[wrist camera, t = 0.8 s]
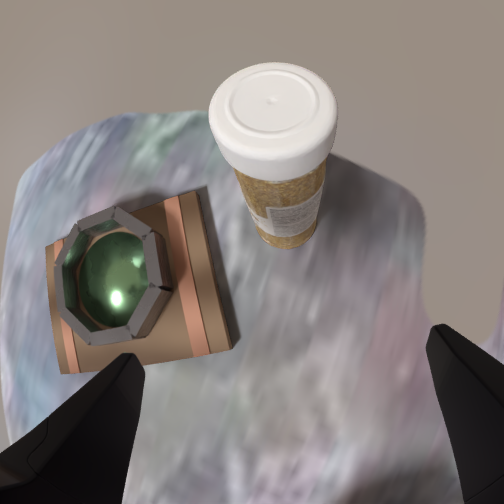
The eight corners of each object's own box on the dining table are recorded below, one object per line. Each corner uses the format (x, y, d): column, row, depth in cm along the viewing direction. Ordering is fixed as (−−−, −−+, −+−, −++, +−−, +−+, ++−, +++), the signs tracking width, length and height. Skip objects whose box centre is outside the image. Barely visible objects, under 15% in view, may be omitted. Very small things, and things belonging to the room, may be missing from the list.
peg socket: (182, 330, 21) (172, 331, 19) (78, 349, 21) (63, 350, 19) (159, 202, 23) (148, 192, 21) (66, 237, 24) (52, 232, 22)
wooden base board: (232, 348, 21) (229, 350, 20) (67, 373, 22) (60, 374, 21) (198, 195, 24) (194, 190, 23) (52, 249, 25) (44, 246, 24)
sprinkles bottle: (250, 200, 23) (199, 73, 10) (308, 186, 23) (314, 49, 10) (262, 257, 22) (214, 171, 9) (324, 243, 21) (359, 140, 8)
